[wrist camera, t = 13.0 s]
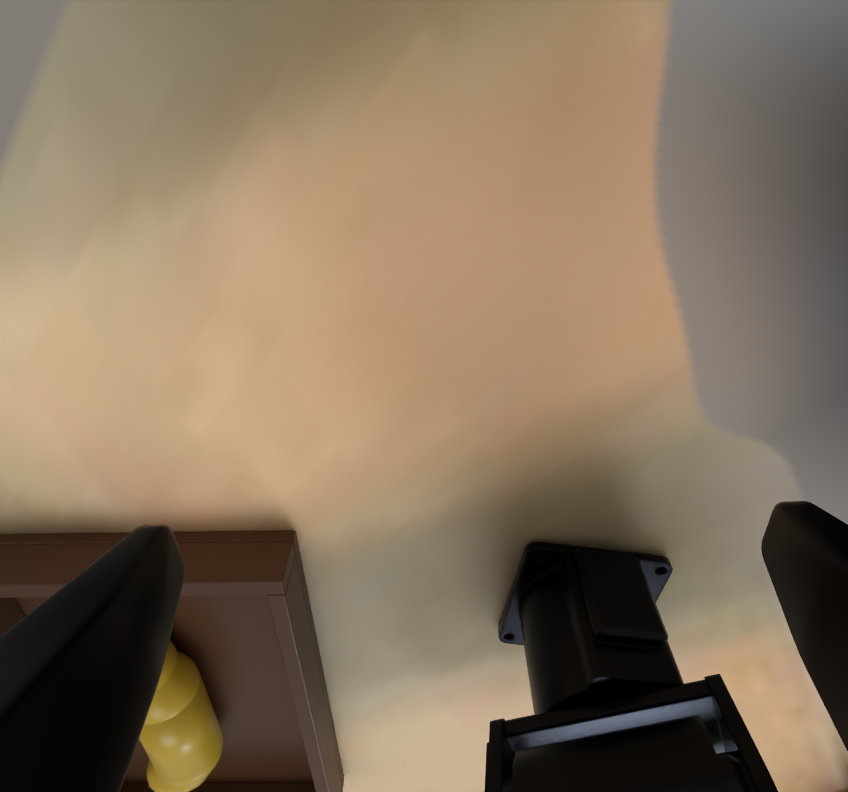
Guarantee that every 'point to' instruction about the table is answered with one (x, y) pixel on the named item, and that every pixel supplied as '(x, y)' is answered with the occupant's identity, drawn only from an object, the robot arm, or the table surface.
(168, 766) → the banana
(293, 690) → the tray
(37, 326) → the table surface
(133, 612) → the robot arm
